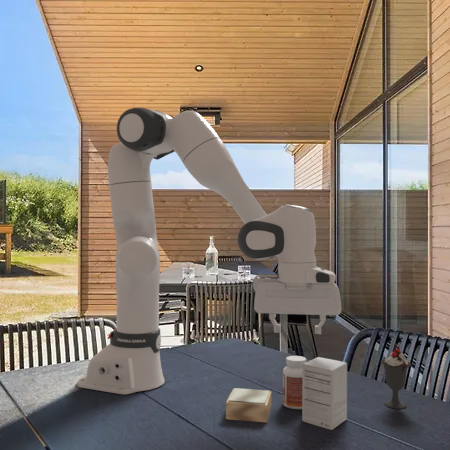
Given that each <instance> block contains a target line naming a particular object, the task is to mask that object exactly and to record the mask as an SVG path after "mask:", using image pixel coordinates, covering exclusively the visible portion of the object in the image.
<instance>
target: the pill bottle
mask: <svg viewBox="0 0 450 450" xmlns="http://www.w3.org/2000/svg"><path fill="white" fill-rule="evenodd" d="M306 362H307V358H306V357H305V356H303V355H302V356H300V355H290V356H286V358H285V363H286V366H285V367H284V368H283V369H282V404H283V406H284V407H285V408H287V409H291V410H302V370H303V365H302V364H304V363H306Z"/></svg>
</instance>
